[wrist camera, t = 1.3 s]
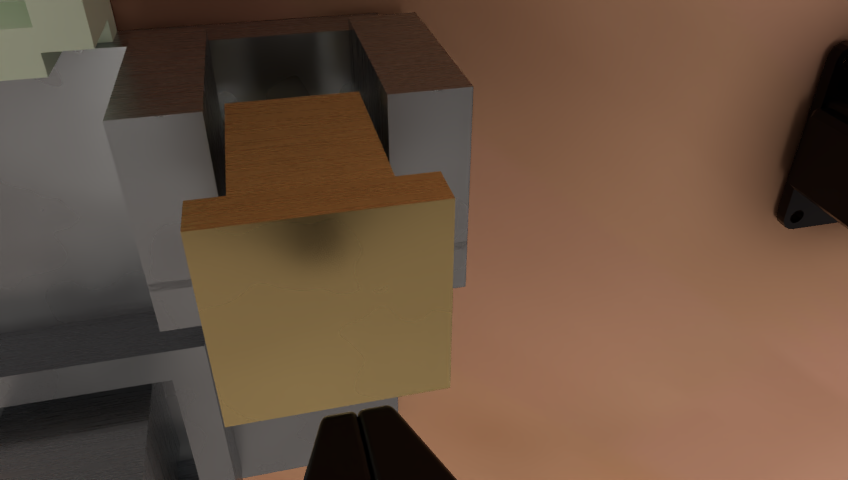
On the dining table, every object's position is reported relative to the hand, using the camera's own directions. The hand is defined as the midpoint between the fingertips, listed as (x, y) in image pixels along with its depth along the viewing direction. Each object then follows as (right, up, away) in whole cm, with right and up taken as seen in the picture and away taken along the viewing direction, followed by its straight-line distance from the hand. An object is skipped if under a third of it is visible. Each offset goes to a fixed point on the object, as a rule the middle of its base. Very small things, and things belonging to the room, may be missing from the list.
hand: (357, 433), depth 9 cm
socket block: (-7, +1, +12) cm, 14 cm away
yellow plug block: (-2, +4, +6) cm, 8 cm away
